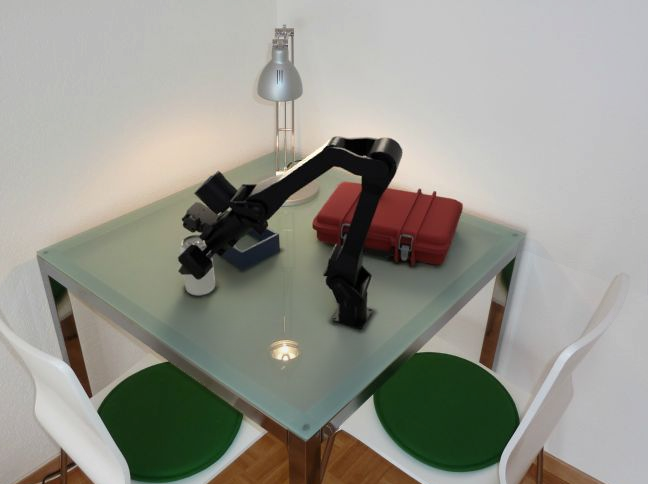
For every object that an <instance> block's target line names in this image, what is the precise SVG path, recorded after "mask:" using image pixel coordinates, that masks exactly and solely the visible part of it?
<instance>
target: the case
mask: <svg viewBox="0 0 648 484" xmlns="http://www.w3.org/2000/svg"><path fill="white" fill-rule="evenodd" d="M247 235H250V236H251V237H252V238H255V239H256V240H257V241H259V242H257V243H255V244H253V245H252V246H249V247H248V248H245V249H244V250H242V249H240V248H238V247H237V246H236V245H235V246H233V247H230V248H228V249H227V251H226V252H225V253H224V254H223V255H222V256H221V257H223V259H225V260H227V261H229V262H230V263H231V264H233V265H234V266H236V267H237V268H239V269H241V270H242V271H245V270H247V269H248V268H250V267H252V266H254V265H257V264H258V263H260V262H262V261H264V260H265V259H267V258H269V257H271V256H273V255H274V254H277V253H279V252H280V251H281V244H280V233H278V232H277V231H275V230H273V229H271V228H269V226H268V227H267V229H266V230H265V232H264V233H263V235H261V236H260V235H259V234H258V233H257V232H256V231H255V230H254V229H252V230H251V231H250V232H249V233H247Z"/></svg>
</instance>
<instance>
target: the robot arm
mask: <svg viewBox="0 0 648 484" xmlns="http://www.w3.org/2000/svg"><path fill="white" fill-rule="evenodd" d="M402 158H403V148H402V146H401V145H400V144H399V143H398V141H397V140H395V139H394V138H392V137H385V136H384V137H379V138H376V137H370V136H360V137H358V136H357V137H345V136H340V135H338V136H337V135H336V136H333V137H330V138H329V139H328V141H326V143H324V144H323V145H322V146H320V147H319V148H317V149H316V150H314V151H313V152H311V153H310V154H309V155H308V156H306V157H305V158H303V159H302V160H301V161H299V162H297V163H296V164H295V165H294V166H292V167H291V168H289V169H287V170H286V171H285V172H284V173H282V174H280V175H275V176H271V177H269V178H267V179H264V180H262V181H259V182H258V183H243V184H241V185H240V187H238V189H237V188H236V187H235V186H234V185H233V184H232V183H231V181H229V180H228V179H227V178H226V177H225V175H224V174H223V173H222V172H221V171H220V170H217V171H216V172H215V173H213V174H211V175H209V177H208V178H206V180H205V181H204V182H202V184H201V185H199V187H198V188H197V189H196V190H195V191H194V192H193V194H194V195H195V196H196V197H197V198H198V199H199V200H200V201H201V202H200V201H196V202H194V203H193V204H192V205H191V206H190V207H189V208H187V210H186V213H185V214H184V216H182V217H181V221H182V227H183V228H184V229H185V230H186V231H189V233H192V234H194V233H196V232H197V233H200V234H199V235H200V236H199V238H200V239H201V240H202V241H204V240H205V241H204V242H205V244H206V248H205V249H204V250H203V251H202V250H201V249H200V248H199V247H198V246H197V245H192V244H191V245H190V246H189V247H188V248H187V249H186V250H184V252H183V253H182V254H181V253H180V254H179V255H178V256H177V261H178V262H179V263H180V264H181V266H180V268H179V269H178V273H179V274H180V275H182V276H184V275H193V276H194V277H195V278H196V279H197V280H200V279H201V278H203V277H204V276H205V275H206V274H207V273H208V272H209V271H210V269H211V268H212V267H213V268H214V261H213V262H212V260H211V258H212V259H213V258H214V256H215V254H217V255H218V256H219V257H222V255H223V254H224V253H225V252H226V251H227V249H228V248H230V247H233V246H235V247H236V245H237V244H238V242H239V241H240V240H241V239H243V238H244V237H245V236H246V235H248V233H249V232H250V231H251V230H252V229H254V230H255V231H256V232H257V233H258V234H259V235H260V236H261V235H263V233H264V232H265V230H266V229H267V227H268V228H269V222H268V221H269V220H270V219H271V218H272V217H273V216H274V214H276V213H277V212H278V211H279V210H280V208H281V207H283V205H284V204H285V203H286V202H287V200H288V199H289V198H290V197H291V196H293V195H295V194H296V193H297V192H299V191H301V190H302V189H303V188H304V187H306V186H308V185H309V184H310V183H312V182H313V181H315V180H316V179H318V178H320V177H321V176H323V175H324V174H325V173H327V172H328V171H330V170H331V169H332V168H339V169H342V170H344V171H347V172H348V173H350V174H352V175H354V176H358V177H361V181H360V184H361V187H362V189H361V194H360V197H359V200H358V203H357V206H356V209H355V212H354V215H353V218H352V221H351V224H350V227H349V230H348V233H347V236H346V239H345V242H344V244H343V246H340V245H338V244H335V245H334V246H333V249H332V251H331V253H330V256H329V258H328V260H327V261H328V262H327V265H326V268H325V270H324V273H323V277H325V285H326V286H327V287H328V289H329V290H331V292H332V294H333V297H334V299H335V302H336V304H338V310H337V311H336V312H335V314H334V315H333V317H332V318H331V321H332V322H333V323H336V324H339V325H342V326H346V327H350V328H353V329H356V330H363V328H364V327H365V325H366V323H367V322H368V320H369V318H370V317H371V315H372V313H373V309H372V308H370V307H368V295H369V294H368V289H369V286H370V283H371V280H372V276H373V275H372V273H371V272H370V271H368V269H366V267H365V266H363V258H364V253H363V245H364V243H365V240H366V237H367V234H368V231H369V228H370V226H371V223H372V220H373V217H374V214H375V212H376V209H377V206H378V203H379V200H380V198H381V196H382V195H383V193H384V192H385V190H386V189H387V188H389V186H390V184H391V183H392V181H393V179H394V177H396V174H397V171H398V169H399V166H400V163H401V161H402ZM229 209H230V210H229ZM210 250H211V251H210ZM209 251H210V253H209ZM208 253H209V254H208ZM207 254H208V255H207Z"/></svg>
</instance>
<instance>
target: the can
mask: <svg viewBox="0 0 648 484" xmlns="http://www.w3.org/2000/svg"><path fill="white" fill-rule="evenodd" d="M199 236H200V234H192V235H189V236H188V235H187V236H186V237H184V238H183V239H182V240H181V242H180V243H181V244H180V248H179V252H180V255H181V254H182V253H183V252H184V250H186V249H187V248H188V247H189V246H190V245H191V244H192V245H197V246H198V247H199V248H200V249H201V250H202V251H203V250H204V249H205V248H206V244H205V242H204V241H205V240H204V241H202V240H201V239H200V238H199ZM210 251H211V250H210ZM210 251H209V253H210ZM209 253H208V254H209ZM208 254H207V255H208ZM211 260H212V262H213V263H214V261H213V260H214V259H213V257H212V258H211ZM215 277H216V276H215V268H214V266H213V267H212V268H211V269H210V271H209V272H208V273H207V274H206V275H205V276H204V277H203V278H201V279H200V280H197V279H196V278H195V277H194V276H193V275H183V279H184V286H185V290H186V293H189V295H192V296H196V297H202V296H206V295H209V294H210V293H211V292H213V291H214V289H215V287H216V278H215Z"/></svg>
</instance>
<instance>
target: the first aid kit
mask: <svg viewBox="0 0 648 484" xmlns="http://www.w3.org/2000/svg"><path fill="white" fill-rule="evenodd" d="M361 189H362V187H361V182H360V183H359V182H353V181H341V182H340V183H339V184H338V185H337V186H336V187H335V189H334V191H333V192H332V193H331V194H330V196H329V197H328V199H327V200H326V201H325V203H324V204H323V206H322V207H321V209H320V210H319V211H318V212H317V214H316V216H314V218H313V220H312V229H313V230H314V231H316V239H317V240H318V242H322V243H326V244H329V245H334V246H335V244H338V245H340V246H343V244H344V242H345V239H346V236H347V233H348V230H349V227H350V224H351V221H352V218H353V215H354V212H355V209H356V206H357V203H358V200H359V197H360V194H361ZM463 204H464V203H462V202H461V201H459V200H457V199H454V198H450V197H444V196H438V195H437V191H436V190H433V192H432V193H431V194H426V193H423V192H422V188H418V189H417V192H414V191H409V190H403V189H395V188H389V187H388V188H387V189H386V190H385V192H384V193H383V195H382V196H381V198H380V200H379V203H378V206H377V209H376V212H375V214H374V217H373V220H372V223H371V226H370V228H369V231H368V234H367V237H366V240H365V243H364V245H363V254H368V255H373V256H378V257H384V258H388V259H389V258H391V257H394V263H397V264H398V262H399V261H400V259H401V261H407V260H409V261H410V266H412V267H414V266H415V264H416V262H419V263H420V262H422V263H425V264H431V265H442V264H444V263H445V261H446V259H447V256H448V252H449V250H450V247H451V245H452V241H453V239H454V236H455V233H456V231H457V227H458V225H459V221H460V218H461V215H462V213H463V210H464V209H463V208H464V206H463Z"/></svg>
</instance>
